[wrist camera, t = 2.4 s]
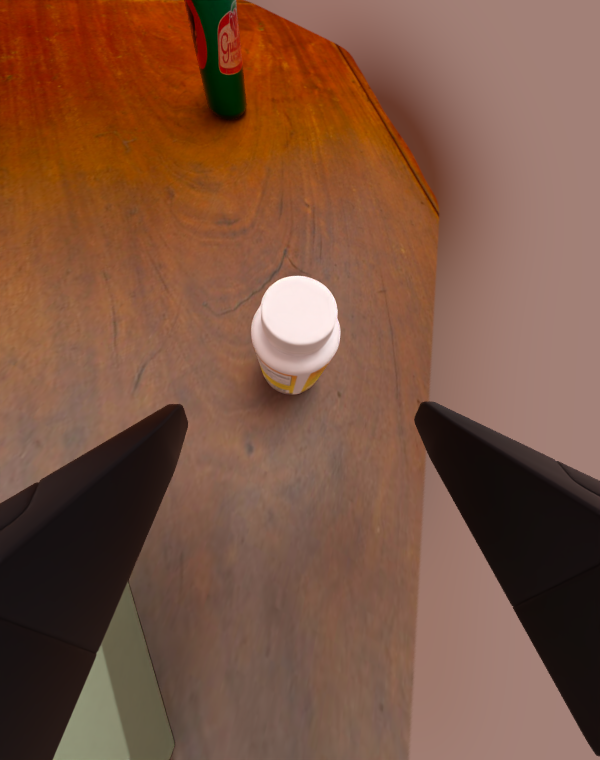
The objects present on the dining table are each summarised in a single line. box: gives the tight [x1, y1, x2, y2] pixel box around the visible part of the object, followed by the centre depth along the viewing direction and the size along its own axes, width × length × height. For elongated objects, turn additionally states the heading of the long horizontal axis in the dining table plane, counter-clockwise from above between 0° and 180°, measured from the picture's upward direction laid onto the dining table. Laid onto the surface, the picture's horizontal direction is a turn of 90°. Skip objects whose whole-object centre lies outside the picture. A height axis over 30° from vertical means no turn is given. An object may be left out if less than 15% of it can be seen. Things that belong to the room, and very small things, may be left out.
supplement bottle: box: [251, 276, 340, 394], centre depth 16 cm, size 6×6×10 cm
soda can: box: [184, 0, 247, 120], centre depth 22 cm, size 5×5×12 cm
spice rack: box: [53, 582, 175, 760], centre depth 12 cm, size 16×8×5 cm, turn 26°
